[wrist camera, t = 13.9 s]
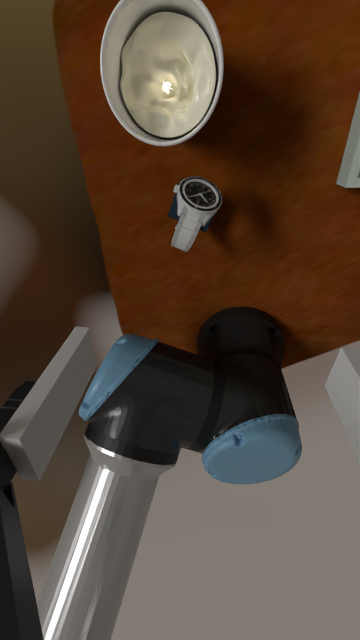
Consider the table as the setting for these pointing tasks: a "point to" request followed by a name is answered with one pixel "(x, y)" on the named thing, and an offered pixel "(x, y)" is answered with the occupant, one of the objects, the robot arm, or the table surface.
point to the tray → (351, 154)
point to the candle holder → (162, 68)
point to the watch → (193, 209)
